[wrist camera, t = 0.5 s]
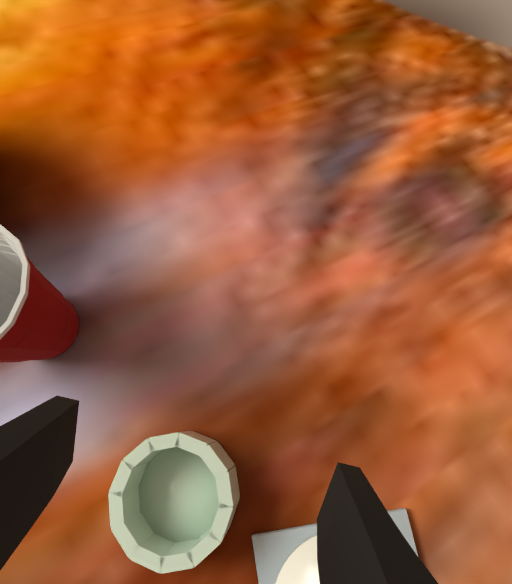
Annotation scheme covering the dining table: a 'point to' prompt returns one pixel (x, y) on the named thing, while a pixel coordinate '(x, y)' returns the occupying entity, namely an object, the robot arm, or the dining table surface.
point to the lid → (301, 565)
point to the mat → (281, 543)
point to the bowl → (173, 500)
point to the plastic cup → (30, 308)
